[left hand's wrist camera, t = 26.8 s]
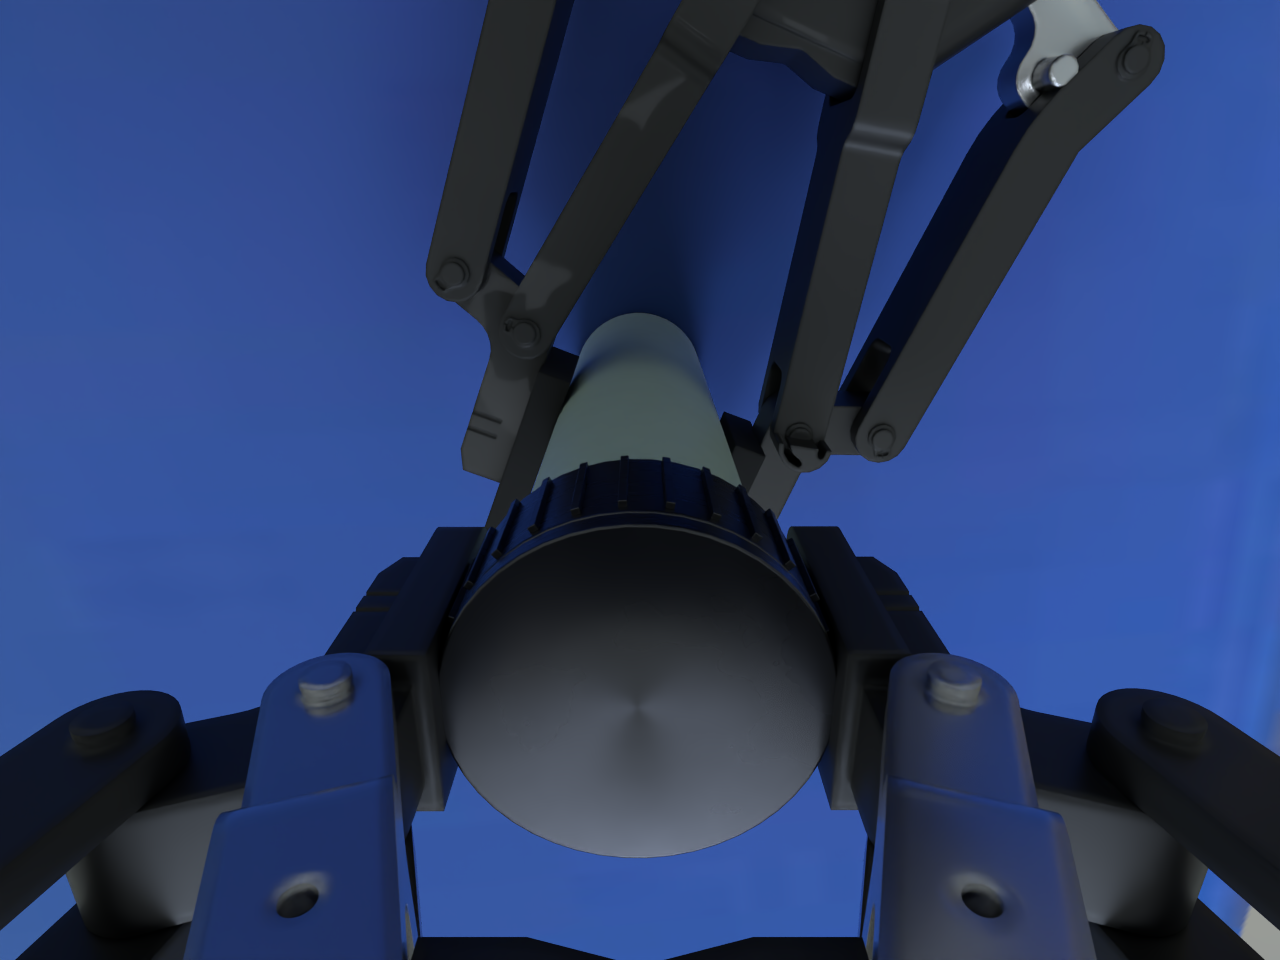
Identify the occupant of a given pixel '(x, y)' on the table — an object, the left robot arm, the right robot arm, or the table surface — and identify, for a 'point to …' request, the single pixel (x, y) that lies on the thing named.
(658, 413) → the pale green rounded cylinder
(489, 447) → the right robot arm
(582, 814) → the lid
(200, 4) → the table surface
